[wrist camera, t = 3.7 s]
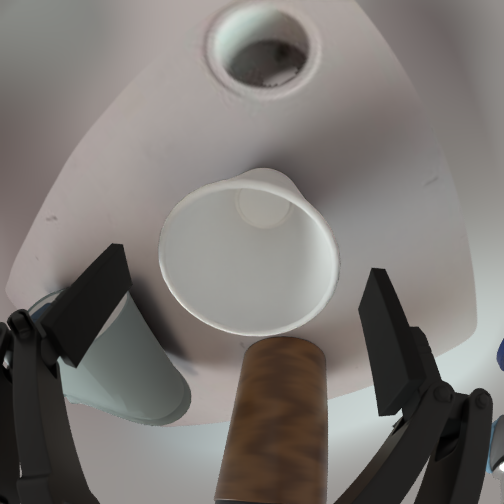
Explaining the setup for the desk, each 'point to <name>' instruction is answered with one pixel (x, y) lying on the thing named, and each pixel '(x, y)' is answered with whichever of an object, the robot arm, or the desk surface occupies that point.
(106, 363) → the sage-green arched shell
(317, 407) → the plinth
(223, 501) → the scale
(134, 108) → the desk surface
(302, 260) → the cup
